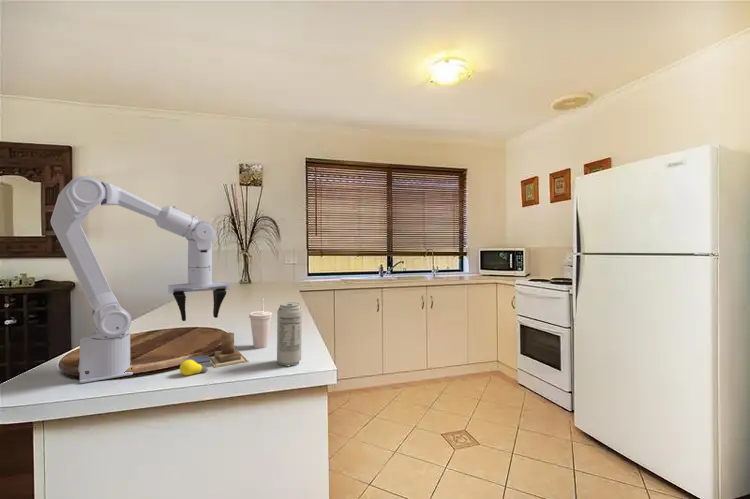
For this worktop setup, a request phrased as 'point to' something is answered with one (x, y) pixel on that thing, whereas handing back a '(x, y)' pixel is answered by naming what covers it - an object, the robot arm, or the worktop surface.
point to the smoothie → (260, 327)
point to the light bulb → (191, 368)
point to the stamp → (227, 349)
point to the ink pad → (202, 360)
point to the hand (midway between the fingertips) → (199, 318)
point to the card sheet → (218, 364)
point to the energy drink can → (289, 333)
